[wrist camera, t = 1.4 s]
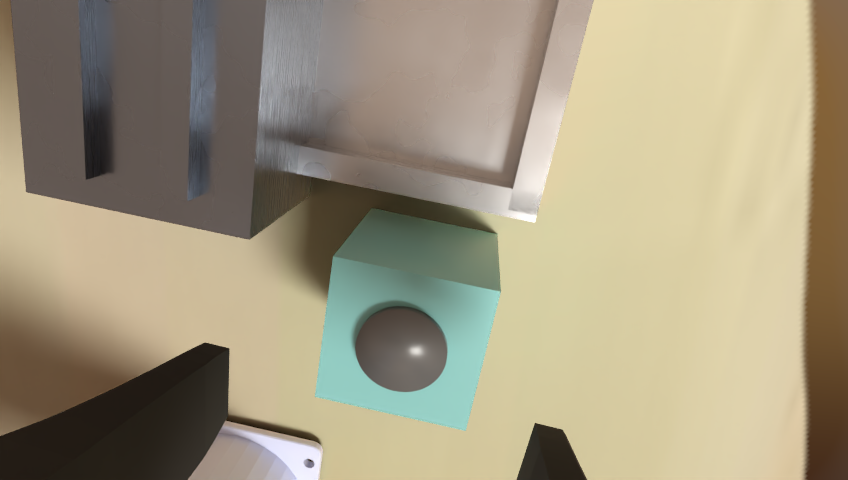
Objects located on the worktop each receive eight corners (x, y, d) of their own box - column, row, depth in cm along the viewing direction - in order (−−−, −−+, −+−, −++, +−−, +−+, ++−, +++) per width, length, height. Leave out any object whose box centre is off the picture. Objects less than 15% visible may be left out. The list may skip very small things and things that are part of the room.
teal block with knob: (470, 343, 22) (465, 437, 16) (355, 318, 22) (311, 402, 17) (497, 233, 20) (501, 296, 15) (371, 207, 20) (330, 259, 15)
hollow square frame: (522, 239, 20) (537, 309, 14) (140, 160, 21) (9, 196, 15) (618, -128, 16) (691, -237, 10) (139, -210, 17) (-43, -353, 11)
